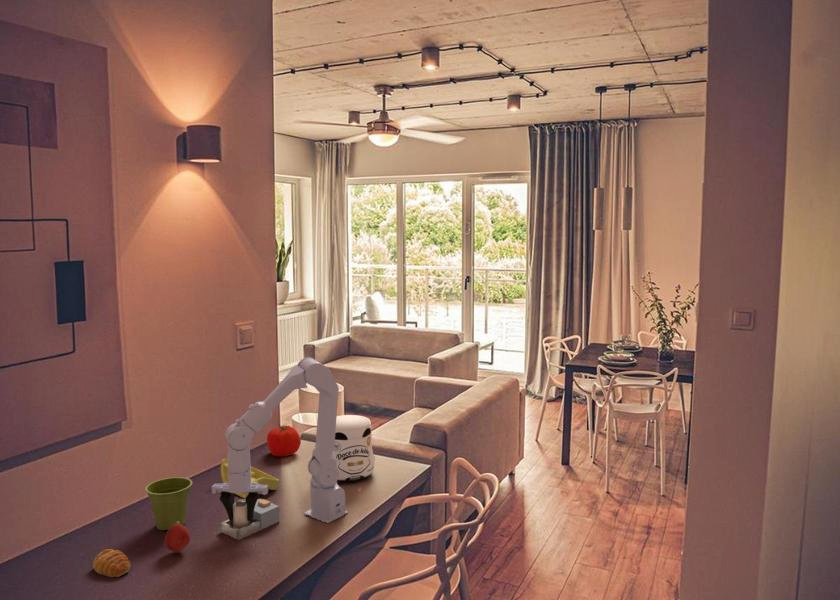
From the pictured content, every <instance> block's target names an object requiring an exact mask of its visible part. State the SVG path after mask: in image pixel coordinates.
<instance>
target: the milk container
mask: <svg viewBox="0 0 840 600" xmlns="http://www.w3.org/2000/svg"><path fill="white" fill-rule="evenodd" d="M371 421H372V420H371V419H370V418H368V417H366V416H363V415H357V414H356V415H354V414H344V415H337V418H336V430H335V443H334V452H335V456H336V460H337V469H338V471H339V478H338V480H337V482H341V483H342V482H344V483H345V482H346V483H347V482H350V483H351V482H357V481H360V480H361V481H362V480H363V479H366V478H368V477H369V476H370V475H371V474H372V473H373V472H374V469H375V464H376V463H375V461H376V460H375V459H376V458H375V454H374V451H373V447H372V446H373V444H372V443H373V441H372V440H373V439H372V437H373V435H372V428H373V427H372V423H371Z"/></svg>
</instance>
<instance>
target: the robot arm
mask: <svg viewBox="0 0 840 600" xmlns="http://www.w3.org/2000/svg"><path fill="white" fill-rule="evenodd" d="M307 384H308V385H310V386H311V387H313V388H315V389H316V390H317V392H318V394H319V395H318V408H317V409H318V410H317V418H316V419H317V421H316V433H315V434H316V435H315V436H316V437H315V448H314V449H313V450H312V452H311V457H310V459H309V462H308V464H307V471H308V472H309V474H310V475H311V480H310V509H309V510H306V511H305V512H304V513H305V514H307V515H306V516H308V515H309V516H308V517H310V516H312V517H311V518H313V517H314V518H313V519H315V518H316V519H315V520H318V521H320V520H321V522H323V523H325V522H326V523H325V524H330V523H332V522H333V521H336V520H337V519H339V518H341V517H343V516H345V515H347V514H348V513H349V512H348V511H347V510H346V492H345V490H344V488H343V487H340V485H338V481H337V480H338V478H339V471H338V469H337V460H336V456H335V452H334V443H335V430H336V418H337V416H338V402H339V393H340V391H339V390H340V389H339V385H338V384H337V382H336V380H335V378H334V375H333V374H332V371H331V370H330V369H329V368H328V367H327V366H326V365H325V364H323V363H320V362H319V361H317V360H316V359H315V358H314V357H304V358H302V359H301V360H299V362H298V363H297V364H295V365H294V366H292V368H291V369H290V370H289V371H288V373H287V375H286V376H285V377H284V378H283V379H282V380H281V381H280V383H278V384H277V386H275V388H274V389H273V390H272V391H271V392H270V393H269V394H268V396H267V397H266V398H265V399H264V400H263V401H255V403H254V404H253V403H250V405H249V406H248V410H247V411H246V412H245V413H244V414H242V416H241V417H240V418H237V419H236V420H235V423H232V424H230V425H229V426H228V427H227V428H226V430H225V433H224V434H223V435H224V439H225V441H227V449H226V450H227V453H226V454H227V457H226V458H227V459H228V482H229V483H223V482H222V483H221V482H220V483H214V484H213V485H212V486H211V494H217V493H218V494H219V493H220V496H219V500H220V502H221V503H222V505H223V506H224V509H225V511H226V513H227V516H228V519H229V520H230V521H232V520H233V504H234V503H235V498H236V497H235V496H236V494H235V493H249V495H247V497H246V498H245V500H246V504H247V519H248V521H251V520H252V518H253V513H254V508H255V505H256V502H257V500H258V499H259V497H260V495H262V496H266V495H267V494H268V493H269V489H268V485H263V484H257V483H252V482H251V467H252V465H251V452H250V445H251V444H252V441H253V436H255V435H256V434H257V433H258V432H259V431H260V430H261V429H262V428H263V427H264V426H265V425H266V424H267V423H268V422H269V420H271V418H273V410H274V409H275V408H277V407H278V406H279V404H281V403H282V402H283V401H284V400H285V399H286V398H288V396H290V395H291V393H292V392H294V390H299V389H300V390H301V389H307V388H308V385H307ZM346 513H347V514H346ZM305 514H304V515H305ZM344 514H345V515H344Z"/></svg>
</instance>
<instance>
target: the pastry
mask: <svg viewBox="0 0 840 600" xmlns="http://www.w3.org/2000/svg"><path fill="white" fill-rule="evenodd" d="M131 566H132V565H131V562H130V560H129V558H128V556H127V555H126V554H125V553H124V552H122V551H121V550H119V549H116V550H114V549H112V548H109V549H108V548H107V549H103V550H102V551H100V552H99V554H97V555H96V556H95V558H94V560H93V562H92V567H93V570H94V571H95V572H96V573H97V574H99V575H101V576H105V577H109V578H115V577H116V578H119V577H121V576H122V575H124V574H126V573H128V572H129V571H130V569H131Z"/></svg>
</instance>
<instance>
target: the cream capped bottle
mask: <svg viewBox="0 0 840 600" xmlns="http://www.w3.org/2000/svg"><path fill="white" fill-rule="evenodd" d="M249 524H250V521H248V519H247V504H246V500H245V499H244V498H241V499H238V500H236V501H235V502H234V504H233V527H235V528H237V529H240V528H242V527H245V526H247V525H249Z"/></svg>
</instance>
